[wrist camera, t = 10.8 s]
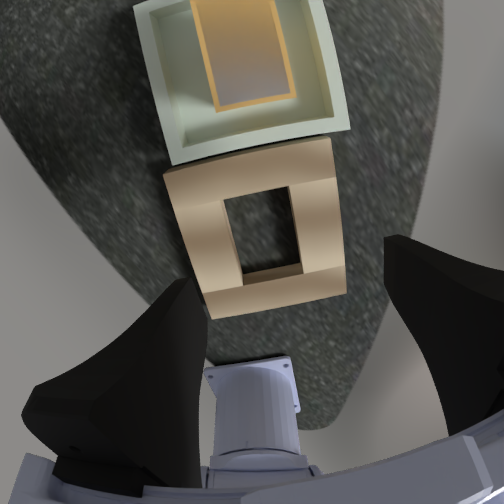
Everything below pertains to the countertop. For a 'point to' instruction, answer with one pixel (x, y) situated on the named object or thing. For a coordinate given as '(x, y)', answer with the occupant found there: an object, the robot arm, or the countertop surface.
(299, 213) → the wooden frame
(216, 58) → the tan rectangular block
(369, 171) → the countertop surface
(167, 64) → the parts tray
